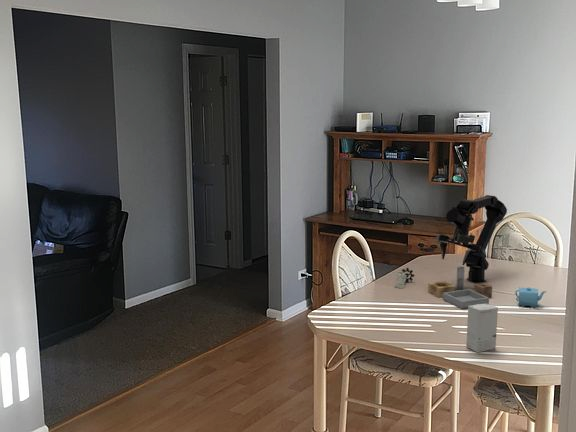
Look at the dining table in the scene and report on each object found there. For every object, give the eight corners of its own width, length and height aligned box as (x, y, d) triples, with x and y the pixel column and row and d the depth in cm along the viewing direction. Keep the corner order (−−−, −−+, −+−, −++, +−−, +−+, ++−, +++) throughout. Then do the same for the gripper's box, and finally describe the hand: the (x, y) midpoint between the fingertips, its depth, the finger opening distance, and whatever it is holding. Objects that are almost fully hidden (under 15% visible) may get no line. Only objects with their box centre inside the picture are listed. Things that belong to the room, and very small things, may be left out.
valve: (405, 289, 281) (414, 282, 292) (406, 275, 280) (414, 268, 290) (391, 287, 285) (400, 280, 295) (391, 273, 283) (400, 266, 294)
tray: (468, 295, 271) (469, 289, 271) (488, 305, 260) (489, 297, 259) (442, 299, 267) (443, 292, 266) (462, 309, 255) (462, 302, 254)
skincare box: (477, 353, 212) (479, 310, 209) (465, 346, 218) (467, 305, 215) (496, 348, 215) (499, 307, 213) (484, 342, 221) (486, 301, 218)
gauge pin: (460, 288, 282) (461, 266, 280) (464, 289, 280) (465, 267, 278) (454, 288, 281) (455, 266, 279) (459, 290, 278) (459, 268, 277)
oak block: (443, 290, 280) (444, 281, 279) (454, 295, 272) (455, 286, 272) (428, 292, 277) (428, 283, 276) (438, 297, 270) (439, 288, 269)
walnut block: (484, 294, 274) (484, 282, 273) (491, 297, 269) (492, 286, 268) (474, 295, 272) (474, 284, 271) (481, 299, 267) (482, 287, 266)
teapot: (545, 304, 259) (547, 287, 258) (546, 309, 254) (547, 291, 252) (514, 301, 263) (515, 284, 262) (514, 306, 258) (515, 288, 256)
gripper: (447, 220, 271) (437, 256, 269) (489, 233, 271) (479, 268, 270) (439, 222, 282) (430, 256, 280) (480, 234, 282) (471, 268, 281)
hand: (453, 262), depth 278 cm, fingers open, 9 cm apart
